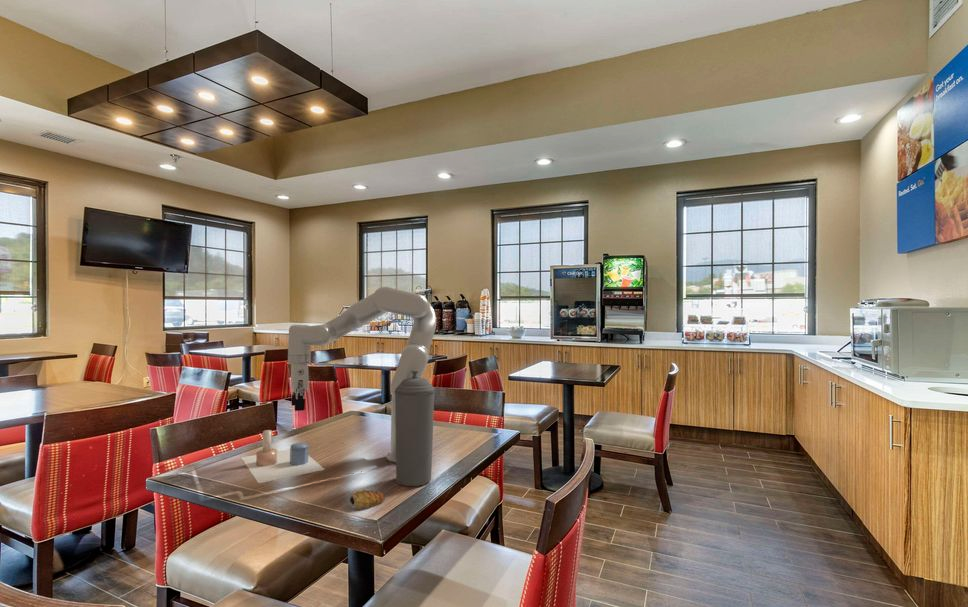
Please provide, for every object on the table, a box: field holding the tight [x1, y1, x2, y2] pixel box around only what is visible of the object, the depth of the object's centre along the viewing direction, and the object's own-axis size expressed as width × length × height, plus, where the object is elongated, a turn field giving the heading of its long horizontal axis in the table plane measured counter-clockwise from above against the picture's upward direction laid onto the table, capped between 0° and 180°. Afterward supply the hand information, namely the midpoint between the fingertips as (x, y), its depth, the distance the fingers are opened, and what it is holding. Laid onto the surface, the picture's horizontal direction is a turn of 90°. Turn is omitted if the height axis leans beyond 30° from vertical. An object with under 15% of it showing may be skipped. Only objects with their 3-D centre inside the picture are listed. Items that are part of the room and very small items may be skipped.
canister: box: [395, 370, 436, 487], centre depth 140 cm, size 13×13×35 cm
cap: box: [289, 442, 309, 466], centre depth 153 cm, size 6×6×6 cm
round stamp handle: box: [255, 429, 278, 466], centre depth 152 cm, size 6×6×11 cm
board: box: [240, 448, 326, 484], centre depth 152 cm, size 30×20×1 cm, turn 38°
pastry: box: [348, 489, 385, 511], centre depth 123 cm, size 9×7×4 cm
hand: (297, 407), depth 157 cm, fingers open, 9 cm apart
